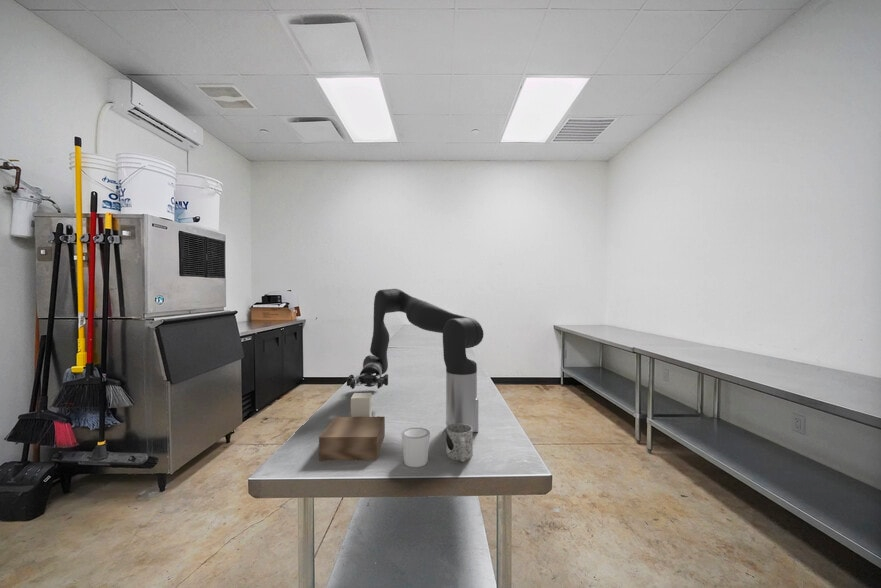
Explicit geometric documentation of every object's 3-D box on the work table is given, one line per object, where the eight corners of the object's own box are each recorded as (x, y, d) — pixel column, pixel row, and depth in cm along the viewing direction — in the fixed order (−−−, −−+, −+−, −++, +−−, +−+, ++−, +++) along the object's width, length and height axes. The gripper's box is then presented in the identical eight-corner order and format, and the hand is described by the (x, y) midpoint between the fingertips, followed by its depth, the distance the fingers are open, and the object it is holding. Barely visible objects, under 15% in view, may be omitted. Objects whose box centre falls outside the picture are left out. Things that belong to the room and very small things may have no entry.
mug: (445, 449, 90) (445, 423, 90) (470, 448, 90) (470, 422, 90) (448, 468, 80) (448, 439, 80) (477, 467, 80) (477, 438, 80)
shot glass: (395, 461, 83) (395, 432, 83) (416, 452, 88) (416, 424, 88) (415, 471, 78) (415, 440, 78) (435, 461, 83) (435, 432, 83)
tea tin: (371, 425, 106) (371, 392, 107) (369, 431, 101) (369, 397, 101) (353, 425, 106) (353, 393, 106) (350, 432, 101) (350, 398, 101)
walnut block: (384, 437, 98) (384, 416, 98) (376, 461, 84) (376, 436, 84) (335, 438, 97) (335, 416, 97) (318, 462, 83) (318, 437, 83)
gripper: (352, 364, 130) (344, 374, 114) (390, 364, 132) (387, 374, 115) (352, 384, 130) (343, 397, 114) (389, 383, 132) (387, 396, 116)
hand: (365, 385), depth 115 cm, fingers open, 8 cm apart
